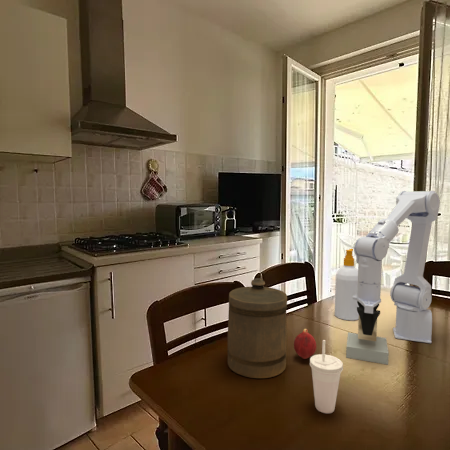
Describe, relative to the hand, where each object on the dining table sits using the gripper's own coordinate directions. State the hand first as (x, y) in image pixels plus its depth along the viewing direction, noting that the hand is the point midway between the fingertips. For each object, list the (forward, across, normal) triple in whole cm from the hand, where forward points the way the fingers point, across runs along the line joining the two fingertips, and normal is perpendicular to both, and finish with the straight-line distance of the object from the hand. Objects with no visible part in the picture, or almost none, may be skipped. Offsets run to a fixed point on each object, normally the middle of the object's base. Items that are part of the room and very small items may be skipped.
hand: (367, 330), depth 91 cm
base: (+6, 0, 0) cm, 6 cm away
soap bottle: (+6, -28, -6) cm, 29 cm away
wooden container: (+6, +17, -26) cm, 32 cm away
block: (+2, 0, 0) cm, 2 cm away
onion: (+6, +10, -15) cm, 19 cm away
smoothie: (+6, +29, -8) cm, 31 cm away
